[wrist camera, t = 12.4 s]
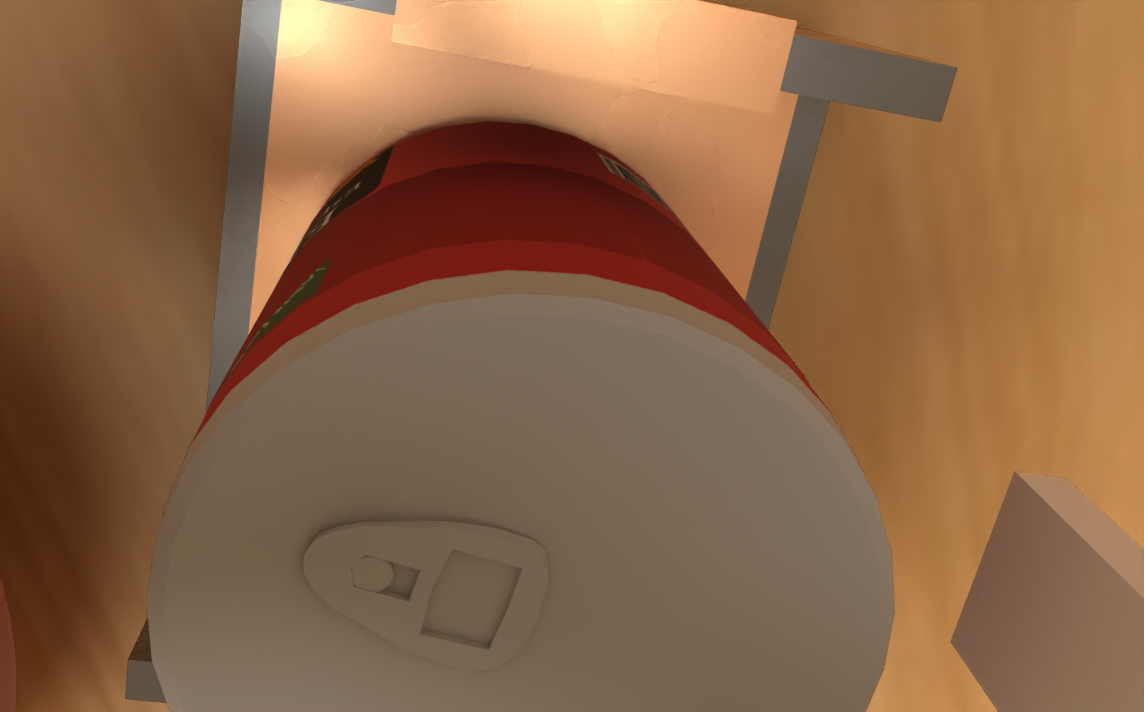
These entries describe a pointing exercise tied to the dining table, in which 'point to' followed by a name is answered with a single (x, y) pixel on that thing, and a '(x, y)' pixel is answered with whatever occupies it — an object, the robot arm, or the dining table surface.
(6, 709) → the balloon
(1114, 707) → the robot arm
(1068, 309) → the dining table surface
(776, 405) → the canned food
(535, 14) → the rack
